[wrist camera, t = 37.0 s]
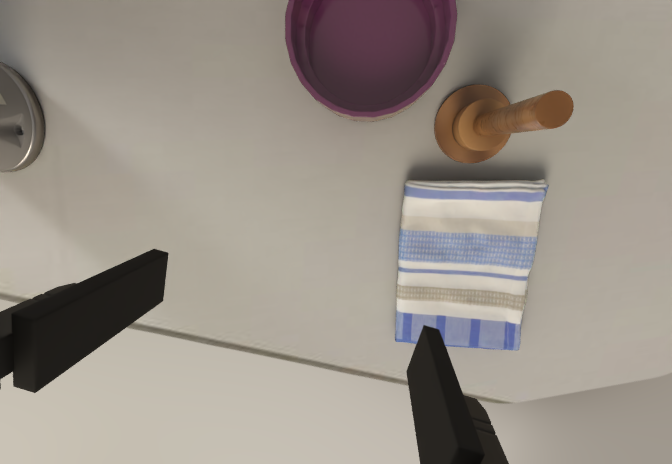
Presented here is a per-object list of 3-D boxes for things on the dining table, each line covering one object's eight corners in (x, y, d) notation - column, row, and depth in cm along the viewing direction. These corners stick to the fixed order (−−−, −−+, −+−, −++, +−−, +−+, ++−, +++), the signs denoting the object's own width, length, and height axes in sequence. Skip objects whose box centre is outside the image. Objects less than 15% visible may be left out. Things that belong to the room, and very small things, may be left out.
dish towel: (545, 178, 40) (558, 180, 37) (515, 346, 46) (524, 358, 43) (403, 173, 42) (405, 175, 39) (391, 336, 47) (392, 347, 45)
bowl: (339, 146, 42) (333, 146, 36) (272, 16, 39) (255, -8, 33) (467, 76, 38) (484, 63, 32) (404, -74, 35) (411, -118, 29)
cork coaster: (452, 175, 41) (453, 176, 40) (422, 109, 39) (423, 108, 39) (522, 141, 39) (525, 140, 38) (494, 70, 38) (496, 69, 37)
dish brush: (460, 158, 40) (528, 165, 22) (442, 118, 39) (498, 93, 22) (504, 136, 39) (610, 126, 21) (486, 94, 38) (582, 47, 20)
